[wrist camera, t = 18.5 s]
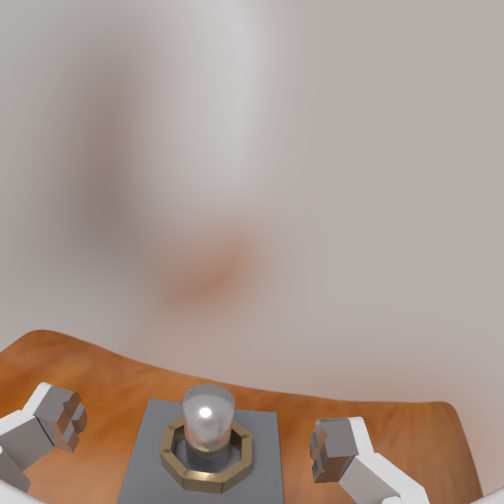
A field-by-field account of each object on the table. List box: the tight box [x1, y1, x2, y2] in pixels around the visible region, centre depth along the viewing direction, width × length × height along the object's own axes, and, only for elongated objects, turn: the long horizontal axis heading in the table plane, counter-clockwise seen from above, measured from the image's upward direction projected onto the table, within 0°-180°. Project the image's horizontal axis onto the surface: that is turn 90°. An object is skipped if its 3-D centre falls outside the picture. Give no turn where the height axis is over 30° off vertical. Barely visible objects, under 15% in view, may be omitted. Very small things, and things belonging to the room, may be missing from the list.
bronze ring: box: [160, 416, 252, 494], centre depth 27 cm, size 9×9×3 cm
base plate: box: [117, 398, 284, 504], centre depth 28 cm, size 16×16×1 cm
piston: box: [183, 384, 235, 474], centre depth 26 cm, size 4×4×10 cm
